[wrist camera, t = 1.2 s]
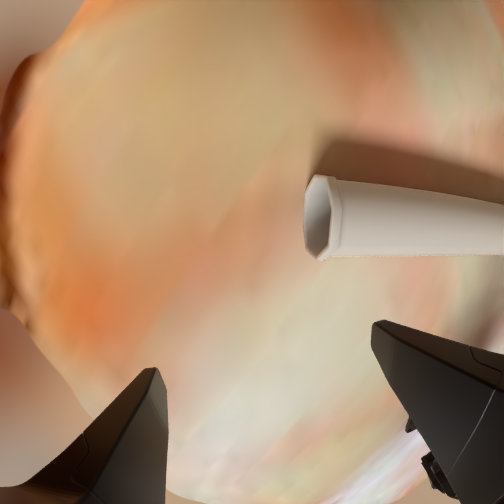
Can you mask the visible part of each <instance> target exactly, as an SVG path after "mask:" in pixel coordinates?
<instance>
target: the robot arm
mask: <svg viewBox="0 0 504 504" xmlns="http://www.w3.org/2000/svg"><path fill="white" fill-rule="evenodd" d="M371 348H372V350H373V352H374V354H375V356H376V358H377V360H378V362H379V364H380V367H381V369H382V371H383V373H384V375H385V377H386V379H387V381H388V383H389V384H390V386H391V388H392V389H393V391H394V392H395V394H396V396H397V397H398V399H399V400H400V402H401V403H402V405H403V407H404V408H405V410H406V411H407V413H408V414H409V416H410V417H409V420H408V423H407V426H406V429H405V431H406V432H407V433H409V432H411V431H413V430H415V429H417V430H418V431H419V433H420V434H421V436H422V437H423V439H424V440H425V442H426V444H427V445H428V447H429V449H430V450H431V451H430V452H429V453H428V454H427V455H424V456H423V457H422V458H421V460H422V463H421V464H422V465H423V467H424V468H425V470H426V472H427V474H428V477H429V480H430V483H431V486H432V488H433V489H438V490H440V491H441V492H442V493H444V494H445V493H446V494H447V495H448V496H449V497H451V498H454V499H457V500H459V501H460V503H461V504H504V355H503V354H499V353H494V352H490V351H486V350H483V349H479V348H476V347H472V346H470V347H469V346H468V345H465V344H462V343H459V342H455V341H452V340H449V339H445V338H442V337H439V336H435V335H432V334H429V333H426V332H422V331H419V330H416V329H413V328H410V327H406V326H403V325H400V324H397V323H394V322H391V321H387V320H380V321H377V322H374V323H373V325H372V333H371ZM168 434H169V431H168V409H167V390H166V386H165V384H164V381H163V379H162V376H161V374H160V372H159V370H158V368H156V367H153V368H145V369H144V370H143V371H142V372H141V373H140V374H139V375H138V376H137V377H136V378H135V379H134V380H133V381H132V382H131V383H130V384H129V385H128V386H127V387H126V388H125V389H124V390H123V391H122V392H121V393H120V394H119V395H118V396H117V397H116V398H115V399H114V401H113V402H112V403H111V404H110V405H109V406H108V407H107V408H106V409H105V410H104V411H103V412H102V413H101V414H100V415H99V416H98V417H97V418H96V419H95V420H94V421H93V422H92V423H91V424H90V425H89V426H88V427H87V428H86V429H85V430H84V431H83V433H82V434H80V435H79V436H78V437H77V439H76V440H75V441H74V442H72V443H71V444H70V445H69V446H68V447H67V448H66V449H65V450H64V451H63V452H62V453H61V454H60V455H58V456H57V457H56V458H55V459H54V460H53V461H51V462H50V463H49V464H48V465H46V466H45V467H44V468H43V469H42V470H40V471H39V472H38V473H37V474H35V475H34V476H33V477H32V478H31V479H29V480H28V481H26V482H24V483H22V484H20V485H17V486H12V487H0V504H165V490H166V468H167V451H168Z"/></svg>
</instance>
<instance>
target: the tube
mask: <svg viewBox="0 0 504 504" xmlns="http://www.w3.org/2000/svg"><path fill="white" fill-rule="evenodd" d="M303 232H304V240H305V249H306V251H307V252H308V253H309V254H310V255H312V256H313V257H314V258H315V259H316V260H317V261H325V260H326V259H327V258H328V257H374V256H465V255H504V205H502V204H498V203H493V202H488V201H483V200H478V199H473V198H468V197H462V196H457V195H451V194H445V193H439V192H433V191H427V190H420V189H413V188H406V187H399V186H391V185H383V184H374V183H366V182H356V181H346V180H336V178H335V177H333V176H326V175H319V174H314V176H313V177H312V179H311V181H310V183H309V184H308V186H307V188H306V190H305V202H304V215H303Z"/></svg>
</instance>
